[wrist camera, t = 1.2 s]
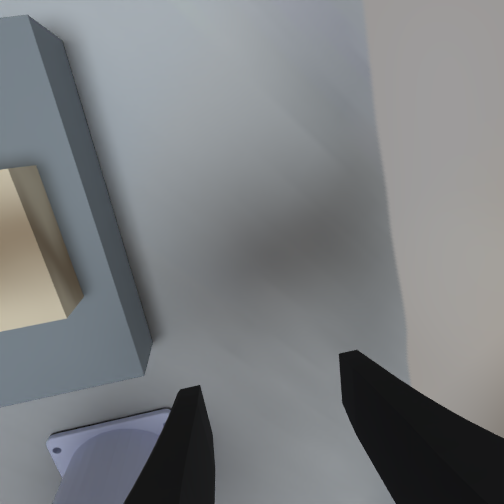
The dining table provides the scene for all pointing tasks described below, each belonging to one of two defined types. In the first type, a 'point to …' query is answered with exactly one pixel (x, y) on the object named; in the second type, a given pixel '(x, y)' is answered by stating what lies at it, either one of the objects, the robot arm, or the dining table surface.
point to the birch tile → (32, 255)
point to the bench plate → (65, 228)
